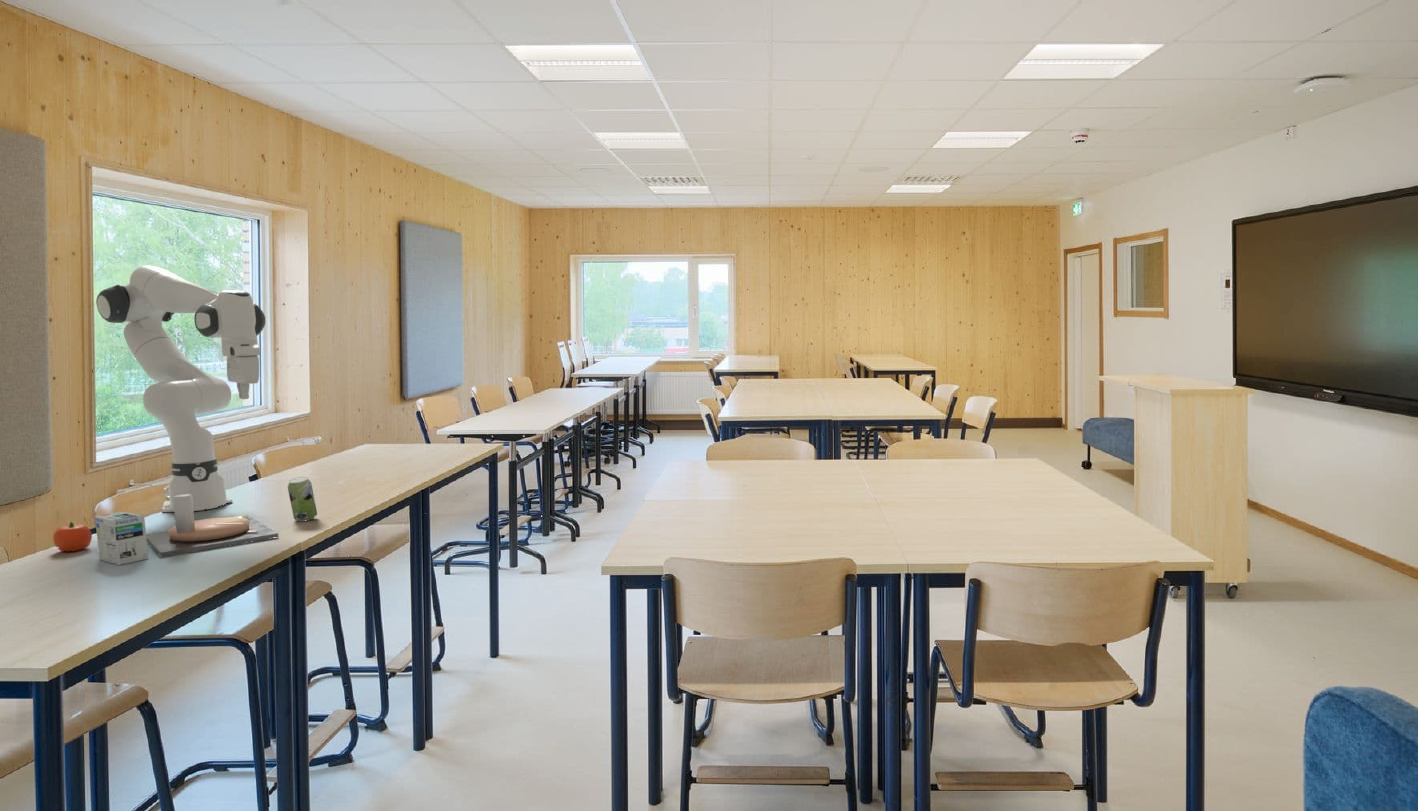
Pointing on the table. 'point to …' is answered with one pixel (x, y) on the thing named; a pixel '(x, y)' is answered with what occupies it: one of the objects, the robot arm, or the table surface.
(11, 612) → the table surface
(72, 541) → the pumpkin
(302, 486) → the beverage can
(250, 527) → the base
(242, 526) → the crank handwheel
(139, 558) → the light bulb box
